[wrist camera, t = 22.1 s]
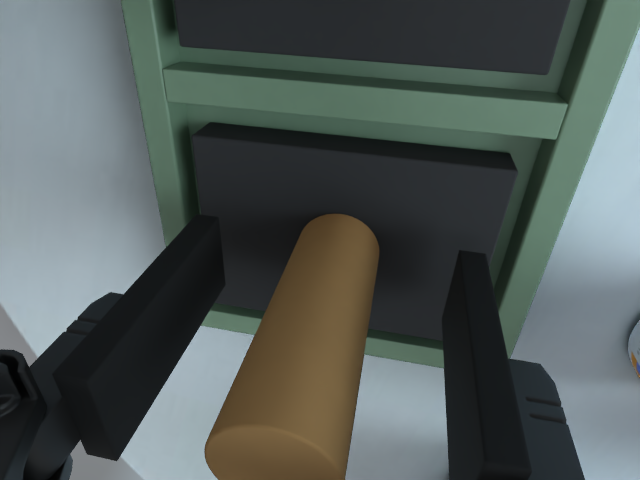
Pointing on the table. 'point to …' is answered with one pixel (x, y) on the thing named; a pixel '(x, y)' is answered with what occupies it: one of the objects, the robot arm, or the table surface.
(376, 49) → the black stamp with handle
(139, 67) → the pad holder
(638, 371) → the pill bottle
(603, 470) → the table surface
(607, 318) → the table surface
